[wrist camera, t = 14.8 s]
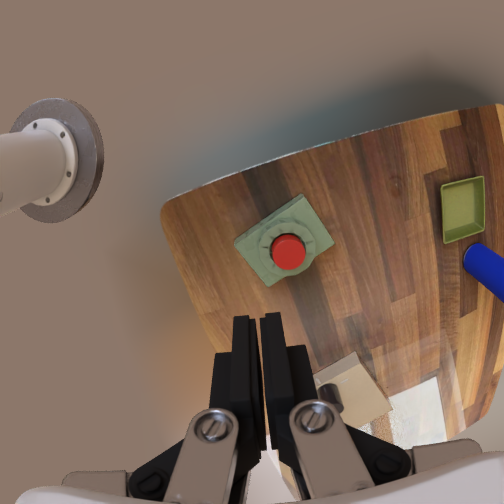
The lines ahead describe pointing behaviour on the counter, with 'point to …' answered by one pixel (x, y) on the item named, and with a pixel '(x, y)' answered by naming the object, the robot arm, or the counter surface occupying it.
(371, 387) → the panel
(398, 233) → the counter surface
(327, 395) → the knob
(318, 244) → the green button base
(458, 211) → the green square tray
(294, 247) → the button
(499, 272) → the beverage can
